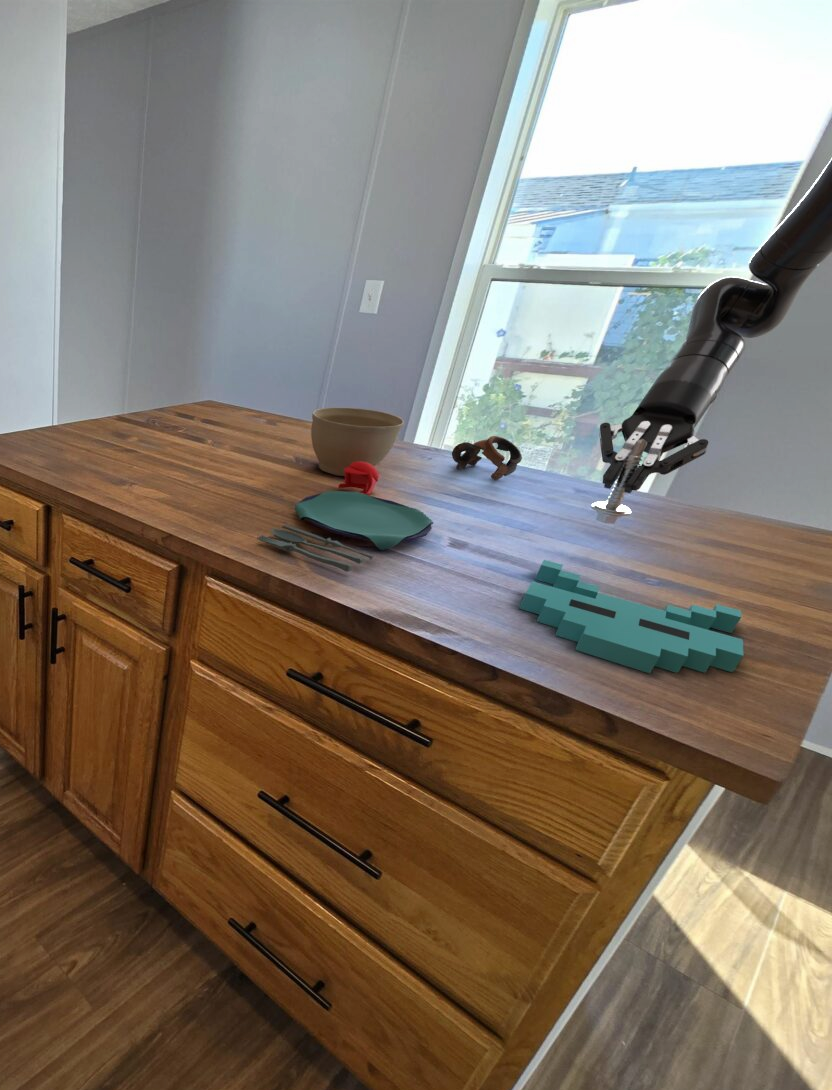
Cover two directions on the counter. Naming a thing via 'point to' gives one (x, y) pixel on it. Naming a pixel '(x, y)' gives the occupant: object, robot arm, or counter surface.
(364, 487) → the cap
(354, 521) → the cutlery set
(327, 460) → the planter bowl
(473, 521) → the counter surface
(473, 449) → the brown looped twisted part
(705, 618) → the alien figure
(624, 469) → the screw
